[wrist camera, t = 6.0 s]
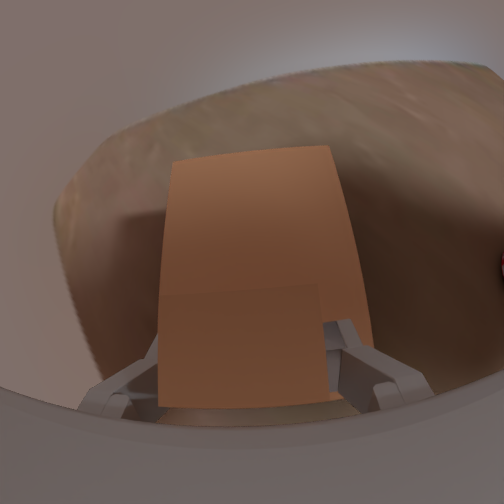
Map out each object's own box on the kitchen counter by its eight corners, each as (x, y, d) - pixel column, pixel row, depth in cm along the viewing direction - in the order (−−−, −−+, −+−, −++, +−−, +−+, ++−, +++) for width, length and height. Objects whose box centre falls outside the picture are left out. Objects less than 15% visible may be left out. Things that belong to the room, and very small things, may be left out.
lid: (178, 173, 22) (129, 60, 12) (327, 158, 21) (339, 32, 12) (167, 405, 15) (33, 409, 5) (371, 391, 14) (487, 388, 4)
